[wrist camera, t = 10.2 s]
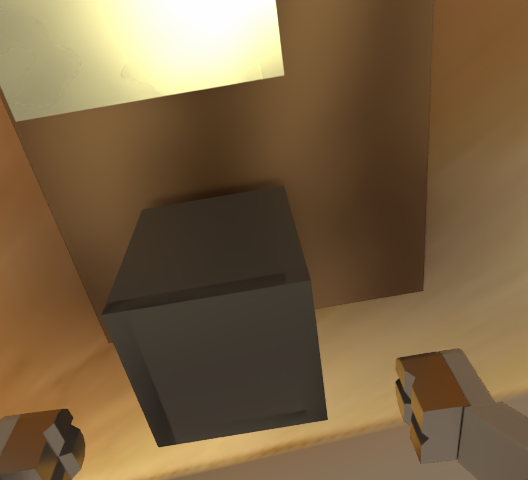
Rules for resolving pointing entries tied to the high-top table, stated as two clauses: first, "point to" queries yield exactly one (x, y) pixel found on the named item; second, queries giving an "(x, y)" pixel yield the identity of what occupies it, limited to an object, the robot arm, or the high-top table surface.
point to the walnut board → (267, 152)
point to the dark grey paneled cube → (218, 319)
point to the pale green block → (130, 50)
